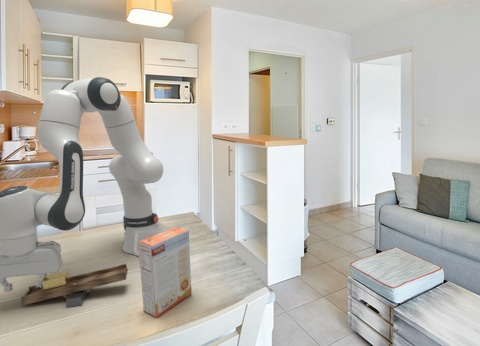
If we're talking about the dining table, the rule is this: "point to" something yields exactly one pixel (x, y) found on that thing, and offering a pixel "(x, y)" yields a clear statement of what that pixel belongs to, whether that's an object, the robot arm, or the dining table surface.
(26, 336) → the dining table surface
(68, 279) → the rider
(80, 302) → the fulcrum
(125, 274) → the beam
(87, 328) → the dining table surface
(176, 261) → the cracker box
